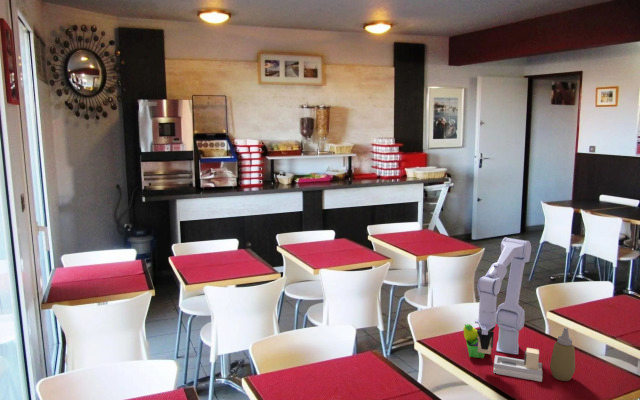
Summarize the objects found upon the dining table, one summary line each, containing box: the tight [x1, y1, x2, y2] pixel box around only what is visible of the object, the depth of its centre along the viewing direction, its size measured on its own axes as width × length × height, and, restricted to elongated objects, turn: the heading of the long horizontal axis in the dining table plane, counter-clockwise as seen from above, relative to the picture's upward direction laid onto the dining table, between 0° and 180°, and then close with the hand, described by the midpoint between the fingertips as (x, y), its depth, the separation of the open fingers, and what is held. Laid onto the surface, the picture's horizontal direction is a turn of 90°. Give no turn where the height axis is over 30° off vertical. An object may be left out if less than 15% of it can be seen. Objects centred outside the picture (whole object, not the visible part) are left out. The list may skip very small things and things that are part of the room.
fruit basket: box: [462, 323, 486, 359], centre depth 204 cm, size 11×9×11 cm
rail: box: [492, 347, 543, 383], centre depth 189 cm, size 10×16×8 cm, turn 69°
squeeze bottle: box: [549, 327, 576, 382], centre depth 184 cm, size 8×8×18 cm
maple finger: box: [478, 330, 494, 355], centre depth 189 cm, size 4×5×7 cm
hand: (485, 346), depth 190 cm, fingers closed on maple finger, 4 cm apart
